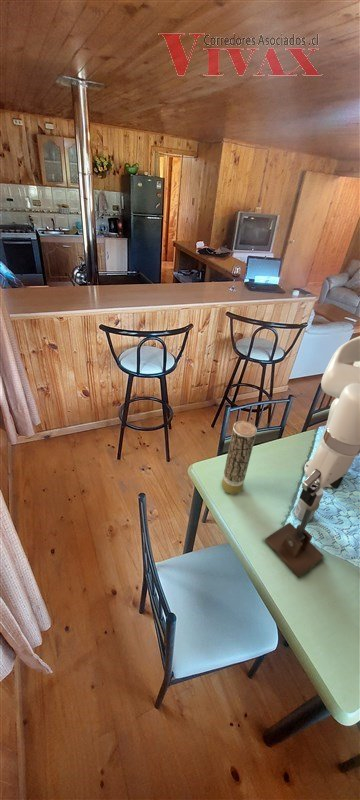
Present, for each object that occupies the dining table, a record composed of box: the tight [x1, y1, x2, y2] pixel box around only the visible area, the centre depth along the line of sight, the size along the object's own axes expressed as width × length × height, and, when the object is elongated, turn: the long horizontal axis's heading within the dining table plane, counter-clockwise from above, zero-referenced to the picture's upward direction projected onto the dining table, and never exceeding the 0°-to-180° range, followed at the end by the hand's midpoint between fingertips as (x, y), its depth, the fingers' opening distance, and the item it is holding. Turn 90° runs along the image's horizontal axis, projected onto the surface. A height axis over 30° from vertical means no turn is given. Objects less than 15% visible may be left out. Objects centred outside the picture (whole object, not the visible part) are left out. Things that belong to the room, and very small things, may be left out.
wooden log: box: [221, 420, 258, 495], centre depth 102 cm, size 7×7×25 cm
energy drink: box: [294, 483, 324, 522], centre depth 98 cm, size 5×5×12 cm
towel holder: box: [264, 522, 325, 579], centre depth 89 cm, size 12×10×7 cm
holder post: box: [293, 498, 320, 544], centre depth 85 cm, size 17×4×4 cm
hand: (318, 493), depth 78 cm, fingers open, 9 cm apart
